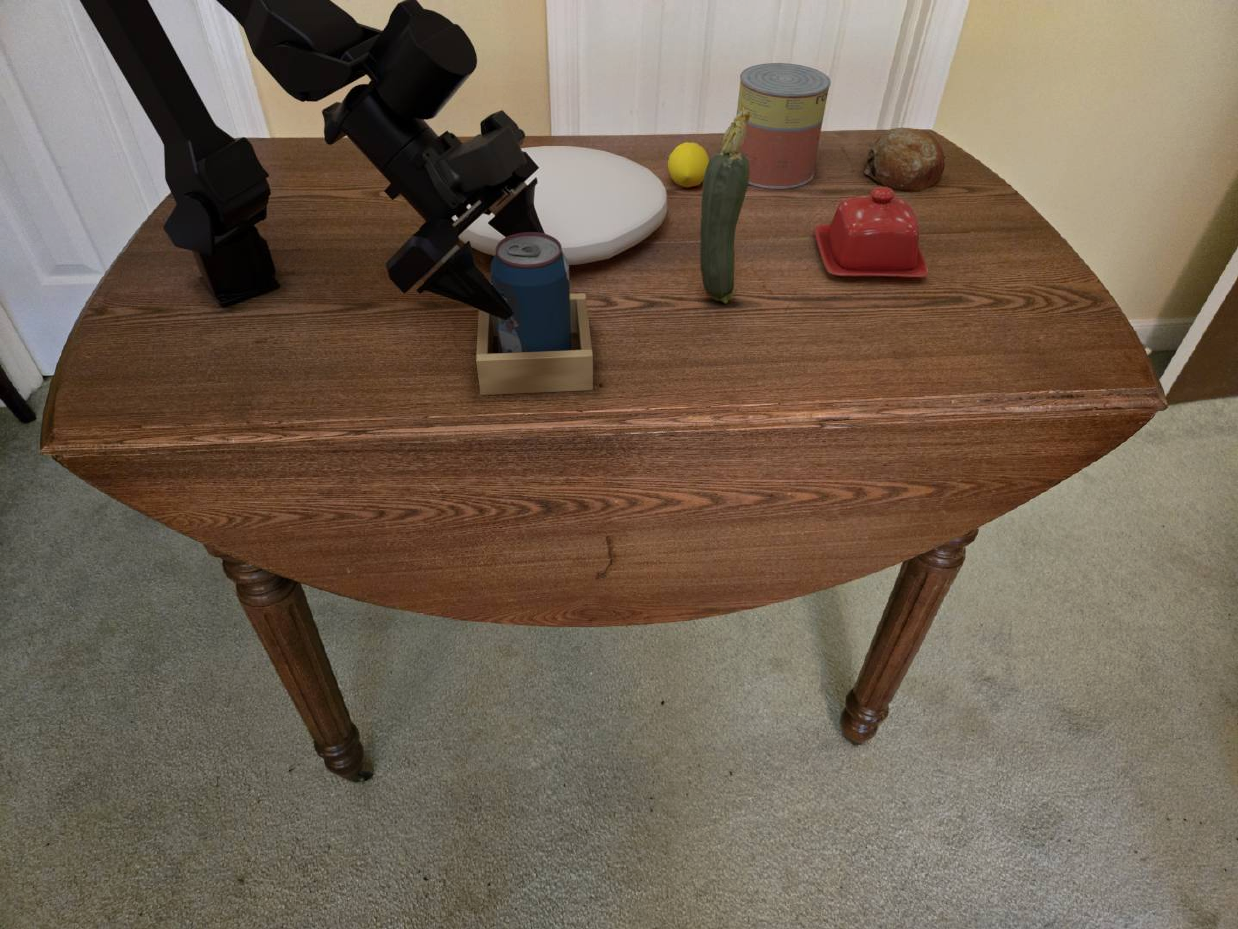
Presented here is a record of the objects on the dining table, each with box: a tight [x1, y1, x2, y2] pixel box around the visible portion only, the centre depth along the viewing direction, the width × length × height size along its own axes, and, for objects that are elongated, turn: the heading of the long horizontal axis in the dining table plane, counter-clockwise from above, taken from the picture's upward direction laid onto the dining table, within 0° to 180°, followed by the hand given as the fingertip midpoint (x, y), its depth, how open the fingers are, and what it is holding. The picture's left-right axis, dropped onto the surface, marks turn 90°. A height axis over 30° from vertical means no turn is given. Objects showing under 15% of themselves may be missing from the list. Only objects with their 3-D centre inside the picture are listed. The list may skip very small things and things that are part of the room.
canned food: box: [736, 62, 832, 190], centre depth 107 cm, size 11×11×12 cm
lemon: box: [667, 141, 710, 189], centre depth 106 cm, size 7×5×5 cm
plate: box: [452, 145, 668, 266], centre depth 97 cm, size 28×6×27 cm
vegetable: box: [699, 107, 751, 304], centre depth 81 cm, size 4×4×20 cm
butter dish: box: [813, 186, 929, 278], centre depth 91 cm, size 12×12×8 cm
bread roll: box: [864, 126, 946, 192], centre depth 109 cm, size 10×10×8 cm
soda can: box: [490, 232, 572, 353], centre depth 75 cm, size 7×7×12 cm
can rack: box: [475, 292, 594, 396], centre depth 78 cm, size 10×10×4 cm
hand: (532, 290), depth 74 cm, fingers open, 9 cm apart
